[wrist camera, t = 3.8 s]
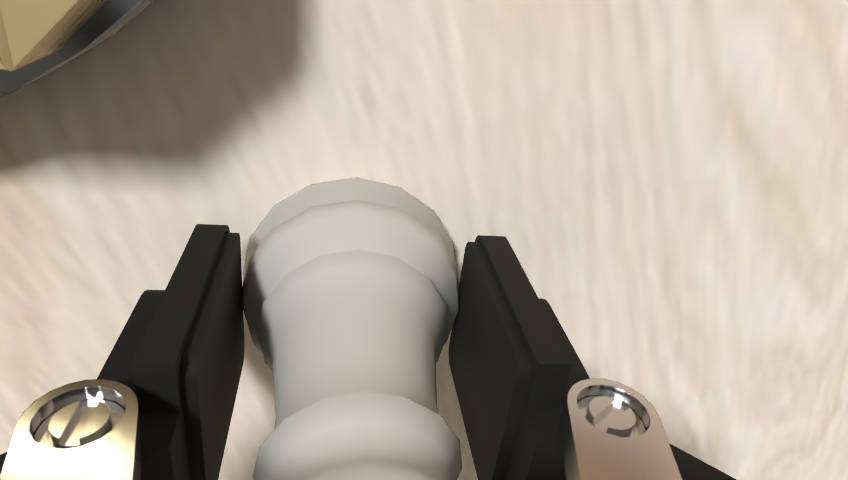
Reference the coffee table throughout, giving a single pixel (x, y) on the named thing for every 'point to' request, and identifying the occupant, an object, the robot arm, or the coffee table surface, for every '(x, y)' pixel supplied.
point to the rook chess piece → (353, 333)
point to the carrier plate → (54, 34)
